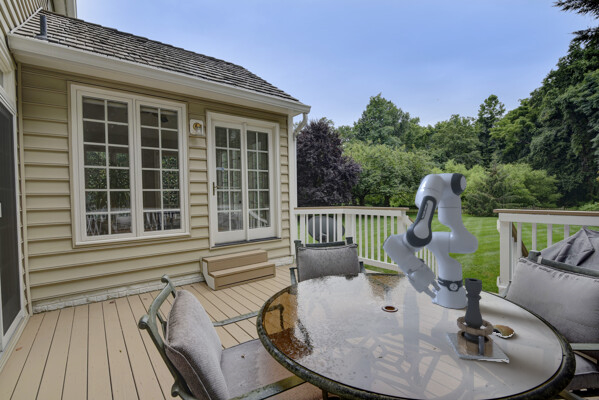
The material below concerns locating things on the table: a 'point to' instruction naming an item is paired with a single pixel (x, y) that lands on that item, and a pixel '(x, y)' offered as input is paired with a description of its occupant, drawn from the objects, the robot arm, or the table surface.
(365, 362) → the table surface
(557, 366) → the table surface
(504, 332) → the pastry
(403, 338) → the table surface
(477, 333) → the collar stand
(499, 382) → the table surface
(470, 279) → the candle holder
